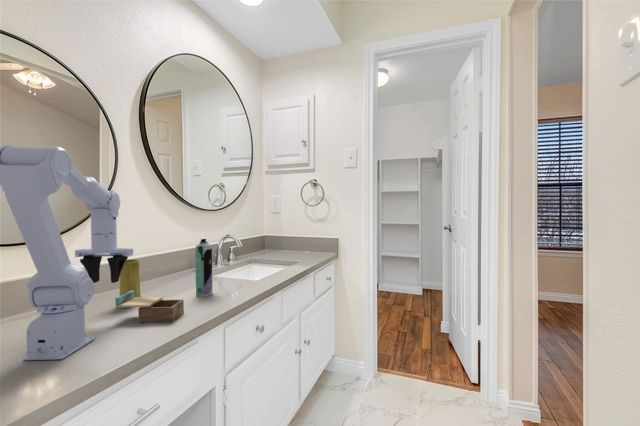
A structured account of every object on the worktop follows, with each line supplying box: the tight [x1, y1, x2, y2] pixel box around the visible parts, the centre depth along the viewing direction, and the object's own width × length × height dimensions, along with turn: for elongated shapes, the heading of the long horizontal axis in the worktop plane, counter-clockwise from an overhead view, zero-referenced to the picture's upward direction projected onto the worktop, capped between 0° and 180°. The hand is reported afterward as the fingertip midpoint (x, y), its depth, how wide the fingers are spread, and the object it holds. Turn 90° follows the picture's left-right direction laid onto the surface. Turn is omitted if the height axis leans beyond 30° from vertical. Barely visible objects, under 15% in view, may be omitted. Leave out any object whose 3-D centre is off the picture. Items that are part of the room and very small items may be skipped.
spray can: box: [194, 238, 213, 298], centre depth 104 cm, size 6×6×20 cm
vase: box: [119, 258, 142, 309], centre depth 94 cm, size 6×6×14 cm
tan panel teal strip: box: [115, 291, 164, 309], centre depth 82 cm, size 7×9×3 cm
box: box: [137, 299, 185, 324], centre depth 82 cm, size 7×9×4 cm
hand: (105, 282), depth 82 cm, fingers open, 5 cm apart
